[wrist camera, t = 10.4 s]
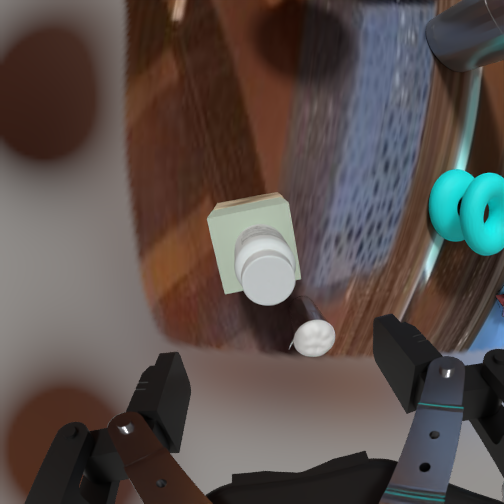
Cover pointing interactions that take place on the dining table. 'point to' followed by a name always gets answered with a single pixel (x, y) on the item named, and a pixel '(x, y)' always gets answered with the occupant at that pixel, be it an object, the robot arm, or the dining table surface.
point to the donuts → (469, 210)
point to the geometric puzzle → (501, 300)
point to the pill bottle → (264, 264)
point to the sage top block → (239, 218)
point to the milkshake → (310, 328)
